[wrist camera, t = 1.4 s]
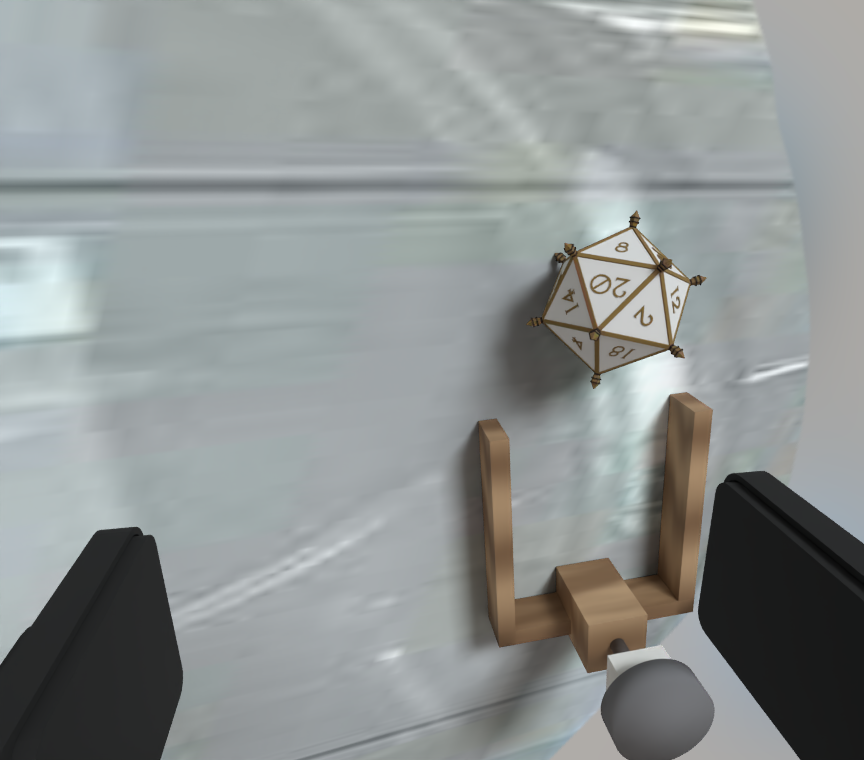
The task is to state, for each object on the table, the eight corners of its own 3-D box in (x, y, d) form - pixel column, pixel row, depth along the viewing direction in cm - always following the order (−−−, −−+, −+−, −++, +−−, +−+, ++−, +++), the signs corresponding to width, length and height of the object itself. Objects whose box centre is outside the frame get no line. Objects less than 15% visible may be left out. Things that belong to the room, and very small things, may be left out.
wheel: (588, 643, 37) (615, 695, 33) (682, 625, 37) (719, 674, 34) (586, 716, 39) (612, 773, 35) (675, 698, 40) (709, 752, 36)
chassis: (478, 421, 40) (512, 481, 32) (686, 392, 41) (763, 443, 34) (488, 622, 46) (519, 711, 38) (670, 589, 47) (732, 668, 40)
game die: (541, 295, 41) (484, 360, 34) (597, 175, 36) (545, 221, 28) (664, 359, 40) (634, 444, 32) (742, 243, 34) (728, 311, 27)
